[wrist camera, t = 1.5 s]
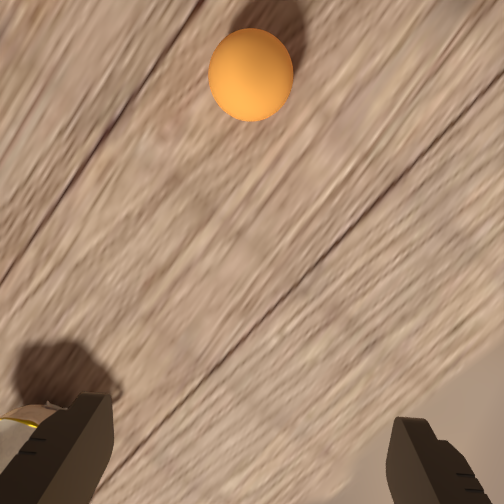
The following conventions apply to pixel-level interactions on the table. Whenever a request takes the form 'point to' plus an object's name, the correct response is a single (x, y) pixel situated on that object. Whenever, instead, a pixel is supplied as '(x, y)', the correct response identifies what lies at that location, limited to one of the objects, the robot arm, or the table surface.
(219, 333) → the table surface
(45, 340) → the table surface
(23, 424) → the chinaware
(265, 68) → the ball
